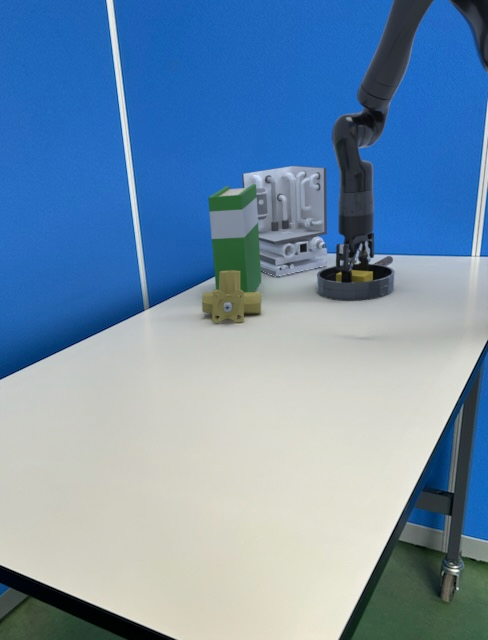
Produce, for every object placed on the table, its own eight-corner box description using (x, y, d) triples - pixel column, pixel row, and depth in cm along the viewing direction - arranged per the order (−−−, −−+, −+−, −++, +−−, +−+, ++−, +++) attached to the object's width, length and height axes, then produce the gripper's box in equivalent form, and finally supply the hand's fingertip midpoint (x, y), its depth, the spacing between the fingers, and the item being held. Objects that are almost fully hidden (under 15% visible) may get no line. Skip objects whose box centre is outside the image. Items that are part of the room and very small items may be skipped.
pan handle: (394, 263, 156) (394, 255, 156) (374, 274, 149) (374, 266, 148) (386, 262, 158) (386, 255, 157) (366, 273, 150) (367, 265, 149)
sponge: (372, 286, 144) (373, 271, 143) (363, 291, 141) (364, 276, 140) (345, 283, 148) (345, 269, 147) (335, 288, 145) (335, 274, 144)
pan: (406, 283, 145) (406, 266, 144) (373, 304, 134) (374, 285, 132) (339, 277, 156) (339, 261, 154) (303, 296, 144) (303, 279, 143)
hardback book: (233, 282, 162) (226, 186, 151) (261, 282, 159) (256, 184, 149) (217, 303, 146) (208, 197, 136) (248, 302, 144) (241, 195, 134)
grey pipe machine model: (296, 257, 180) (293, 165, 170) (334, 268, 164) (334, 168, 153) (248, 267, 175) (242, 173, 165) (282, 280, 159) (278, 177, 149)
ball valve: (204, 316, 141) (199, 324, 131) (204, 270, 138) (198, 275, 128) (261, 316, 139) (259, 324, 130) (261, 269, 136) (260, 274, 126)
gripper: (357, 217, 130) (356, 293, 137) (386, 205, 140) (383, 276, 147) (324, 217, 135) (325, 290, 142) (355, 205, 144) (354, 274, 151)
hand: (355, 283), depth 144 cm, fingers open, 8 cm apart
